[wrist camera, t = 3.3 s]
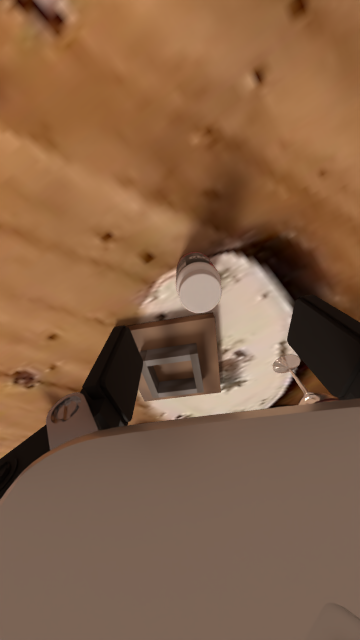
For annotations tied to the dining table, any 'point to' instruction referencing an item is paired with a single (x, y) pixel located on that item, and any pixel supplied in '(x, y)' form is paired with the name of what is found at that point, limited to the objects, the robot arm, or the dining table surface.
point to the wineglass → (290, 364)
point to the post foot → (178, 357)
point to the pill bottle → (198, 283)
